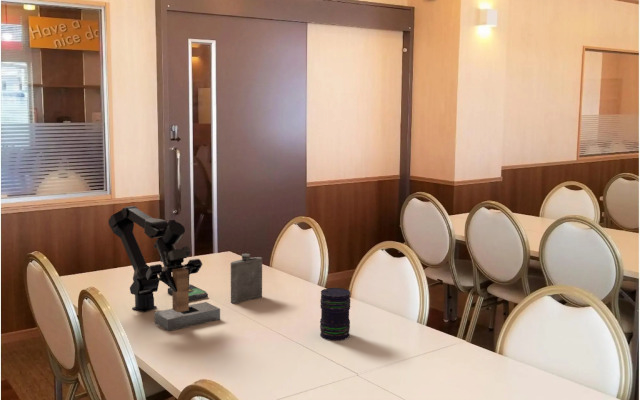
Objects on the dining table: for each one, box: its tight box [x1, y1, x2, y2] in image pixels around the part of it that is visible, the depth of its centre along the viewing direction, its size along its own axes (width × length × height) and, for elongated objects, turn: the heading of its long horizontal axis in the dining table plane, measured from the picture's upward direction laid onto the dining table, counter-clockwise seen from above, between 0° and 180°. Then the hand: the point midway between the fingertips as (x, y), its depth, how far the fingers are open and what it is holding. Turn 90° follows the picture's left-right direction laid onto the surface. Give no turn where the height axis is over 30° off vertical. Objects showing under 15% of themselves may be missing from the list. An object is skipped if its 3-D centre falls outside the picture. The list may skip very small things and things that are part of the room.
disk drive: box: [167, 283, 209, 302], centre depth 266 cm, size 10×3×15 cm
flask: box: [230, 253, 263, 305], centre depth 261 cm, size 4×14×18 cm, turn 133°
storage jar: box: [319, 287, 351, 342], centre depth 222 cm, size 10×10×15 cm
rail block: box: [154, 301, 221, 332], centre depth 235 cm, size 10×20×4 cm, turn 129°
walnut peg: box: [171, 268, 190, 312], centre depth 228 cm, size 4×4×14 cm
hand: (182, 290), depth 227 cm, fingers closed on walnut peg, 4 cm apart
